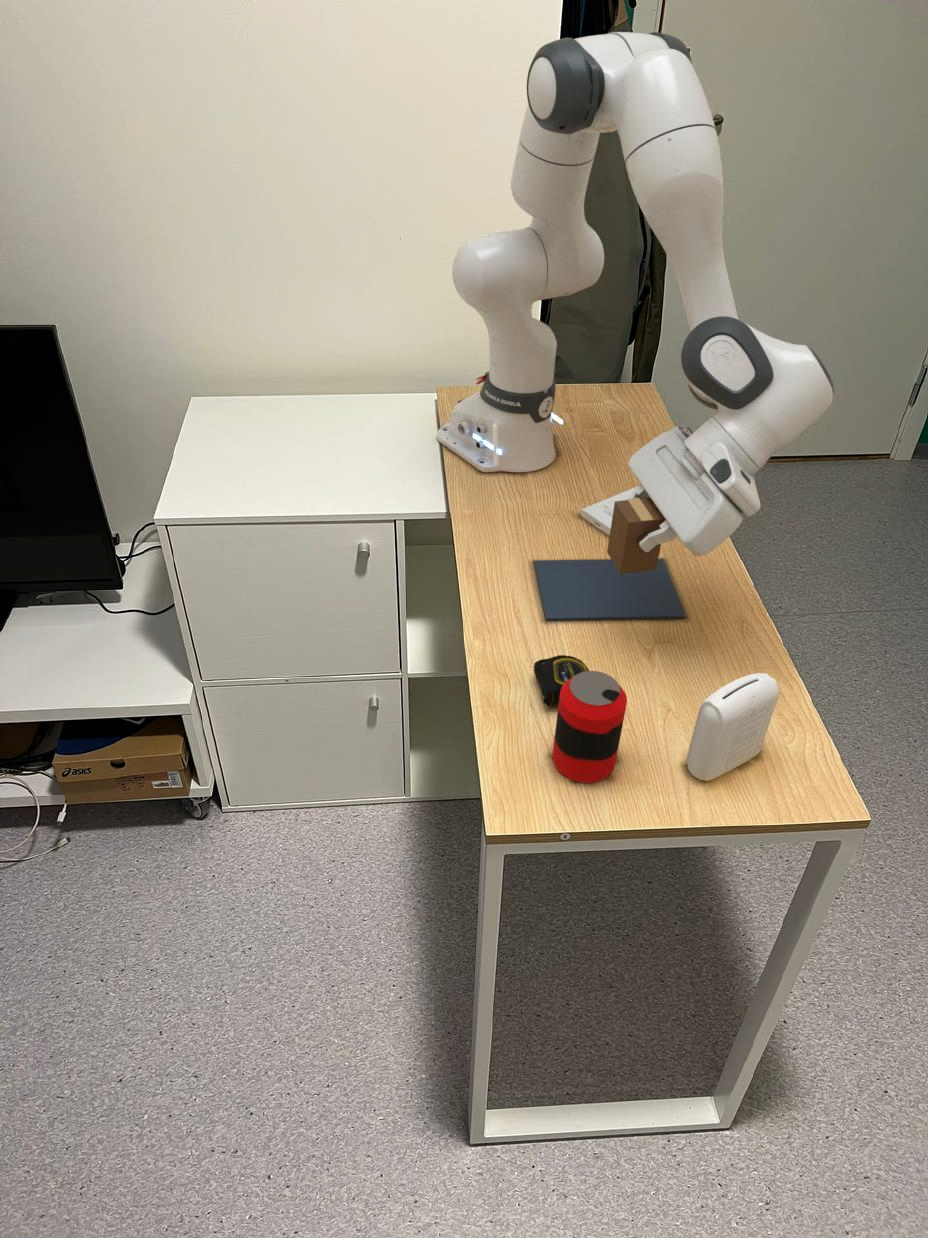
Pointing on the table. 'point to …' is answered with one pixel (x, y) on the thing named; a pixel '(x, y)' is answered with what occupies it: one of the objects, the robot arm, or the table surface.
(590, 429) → the table surface
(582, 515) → the hard drive
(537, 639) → the table surface
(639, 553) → the box
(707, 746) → the photo printer
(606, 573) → the desk mat
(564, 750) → the soda can
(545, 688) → the tape measure
